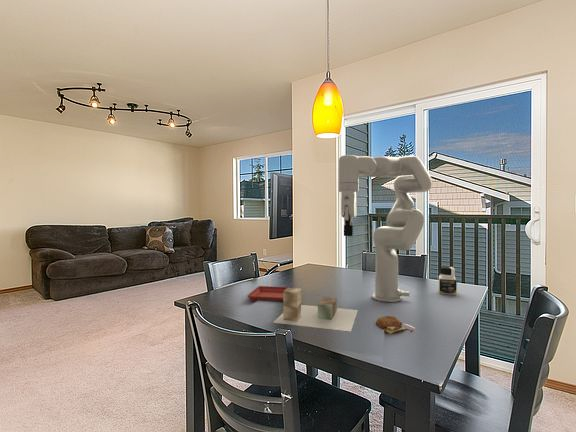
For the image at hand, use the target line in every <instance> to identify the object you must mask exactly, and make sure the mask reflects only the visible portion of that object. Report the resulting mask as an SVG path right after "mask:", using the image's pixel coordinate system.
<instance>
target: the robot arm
mask: <svg viewBox="0 0 576 432" xmlns="http://www.w3.org/2000/svg"><path fill="white" fill-rule="evenodd" d="M360 177H368V178H380V177H383V178H385V177H387V178H388V177H396V178H395V179H394V182H393V189H394V194H395V195H394V196H395V202H394V204H393V205H392V207H391V209H390V211H389V213H388V214H387V216H386V220H385V222H386V225H385V226H384V225H383V226H379V227H377V228H376V229H375V230H374V232H373V235H372V237H373V244H374V250H375V283H374V288H375V291H374V292H373V293H372V294H371V299H373V300H375V301H378V302H383V303H384V302H385V303H398V302H400V301H402V300H403V299H402V297H410V291H406V290H400V287H399V257H398V254H397V252H396V250H400V251H408V250H409V251H410V250H411V249H412V248H413V247H414V246H415V244H416V241H417V239H418V238H419V235H420V234H421V232H422V229H423V227H424V224H425V217H424V216H425V215H424V213H423V212H422V211H421V210H420V209H418V208H414V207H415V202H414V200H413V199H412V197H411V196H410V194H411V193H412V194H413V193H426V192H428V191H430V190H431V188H432V184H433V183H432V181H433V180H432V176H431V175H430V173H429V172H428V169H426V167H425V165H424V163H423V162H422V160H421V159H420V158H419V157H418V156H416V155H411V154H410V155H405V156H376V157H375V156H373V157H371V156H368V155H366V156H364V155H363V156H362V155H361V156H358V155H354V154H346V155H344V154H343V155H341V156H339V158H338V192H339V193H341V197H340V198H341V199H340V200H341V201H340V205H341V206H340V208H341V209H340V210H341V212H340V214H341V217H342V218H343V223H344V224H343V236H344V237H353V235H354V233H353V232H354V230H353V229H354V227H353V218H354V219H355V218H357V215H358V209H357V207H358V206H357V193H359V185H360V183H359V180H360V179H359V178H360Z"/></svg>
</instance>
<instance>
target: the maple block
mask: <svg viewBox="0 0 576 432" xmlns="http://www.w3.org/2000/svg"><path fill="white" fill-rule="evenodd" d="M282 302H283V303H282V305H283V309H282V310H283V312H282V313H283V320H289V321H298V320H299V319H300V318H301V305H302V288H297V287H291V288H287V289H286V290H284V291H283V301H282Z"/></svg>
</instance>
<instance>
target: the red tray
mask: <svg viewBox="0 0 576 432" xmlns="http://www.w3.org/2000/svg"><path fill="white" fill-rule="evenodd" d="M287 288H292V287H289V286H288V287H287V286H267V285H266V286H265V285H259V286H257V287H256V288H255V289H254V290H252V291H251V292H250V293H249V294H247V298H248V299H250V301H251V302H254V303H256V302H258V301H273V302H274V301H275V302H283V291H284V290H286V289H287Z"/></svg>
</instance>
